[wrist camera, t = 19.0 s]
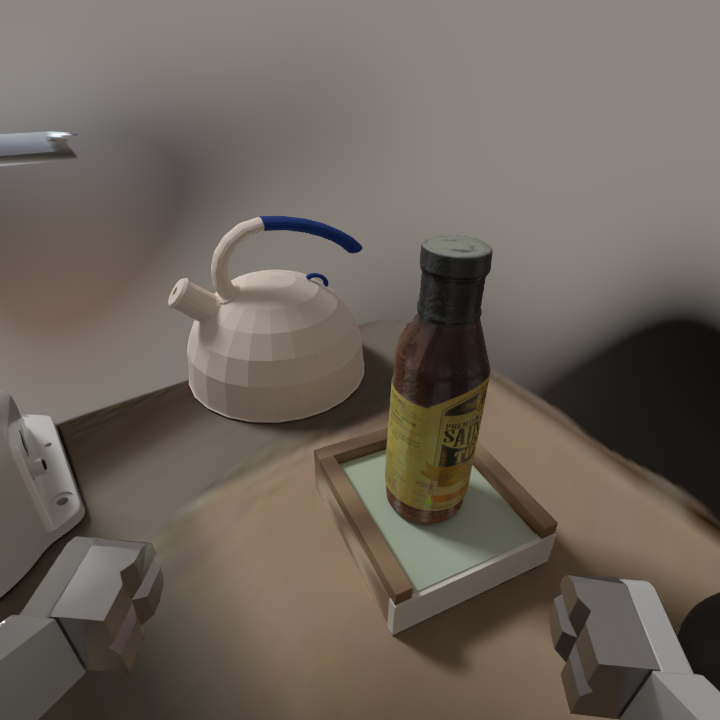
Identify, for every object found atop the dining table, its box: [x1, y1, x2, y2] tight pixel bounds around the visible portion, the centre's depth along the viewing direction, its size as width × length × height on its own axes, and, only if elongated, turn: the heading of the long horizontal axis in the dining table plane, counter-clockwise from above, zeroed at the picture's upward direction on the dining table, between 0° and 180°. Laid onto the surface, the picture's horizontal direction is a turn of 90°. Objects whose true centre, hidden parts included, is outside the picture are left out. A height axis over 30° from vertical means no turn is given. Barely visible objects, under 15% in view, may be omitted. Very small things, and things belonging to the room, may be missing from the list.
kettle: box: [168, 216, 364, 423], centre depth 54 cm, size 20×21×18 cm
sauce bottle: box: [385, 235, 492, 524], centre depth 33 cm, size 6×6×20 cm
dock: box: [314, 428, 558, 635], centre depth 39 cm, size 14×13×4 cm
